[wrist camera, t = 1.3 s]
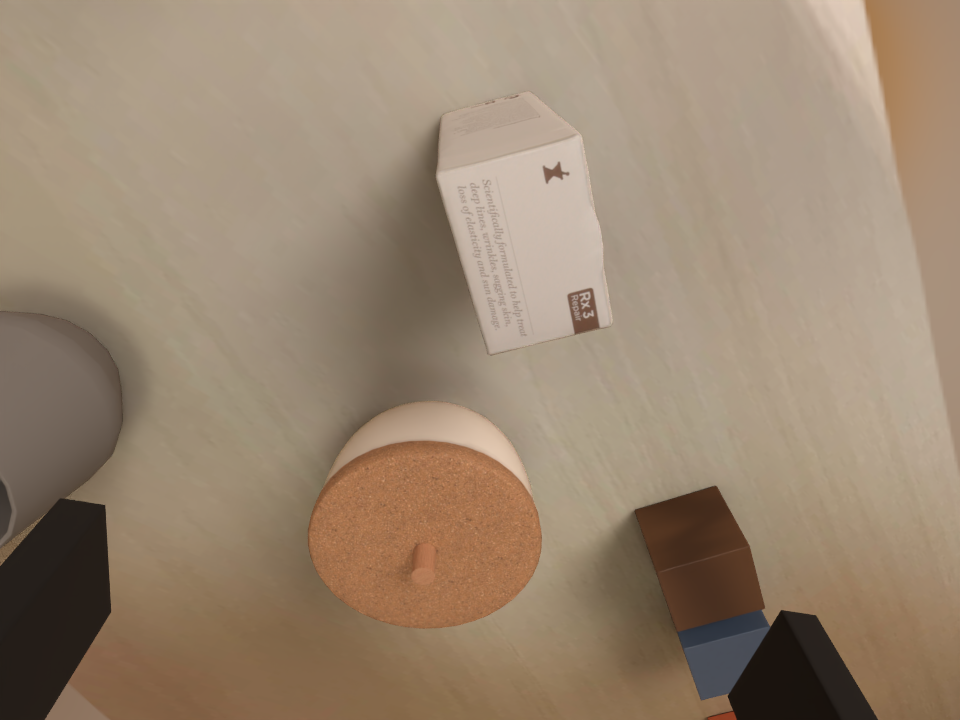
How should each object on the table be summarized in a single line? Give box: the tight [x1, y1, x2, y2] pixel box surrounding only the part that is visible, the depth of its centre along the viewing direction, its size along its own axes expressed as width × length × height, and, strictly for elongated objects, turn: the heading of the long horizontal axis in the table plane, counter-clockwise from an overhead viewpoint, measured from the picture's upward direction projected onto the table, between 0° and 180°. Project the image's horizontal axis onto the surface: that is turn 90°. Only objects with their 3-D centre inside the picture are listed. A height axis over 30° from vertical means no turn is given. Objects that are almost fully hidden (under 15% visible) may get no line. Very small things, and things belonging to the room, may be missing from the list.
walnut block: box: [635, 486, 765, 632], centre depth 37 cm, size 5×5×5 cm
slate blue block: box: [677, 610, 770, 700], centre depth 39 cm, size 5×5×5 cm
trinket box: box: [308, 401, 542, 628], centre depth 32 cm, size 11×11×9 cm
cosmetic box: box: [435, 91, 613, 355], centre depth 23 cm, size 6×4×12 cm
